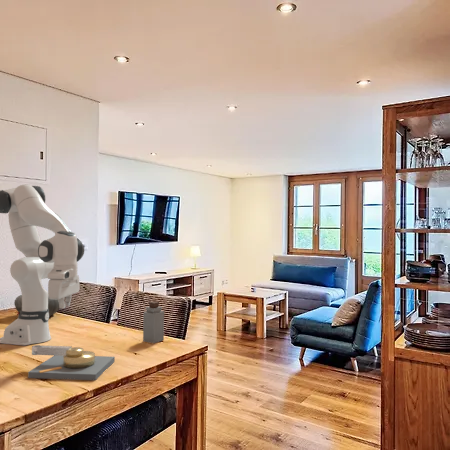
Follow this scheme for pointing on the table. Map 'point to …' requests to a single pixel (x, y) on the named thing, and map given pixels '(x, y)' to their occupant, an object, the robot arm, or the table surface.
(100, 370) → the stand plate
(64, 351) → the dial
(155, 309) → the perfume bottle
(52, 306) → the gourd
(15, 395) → the table surface
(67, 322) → the table surface
